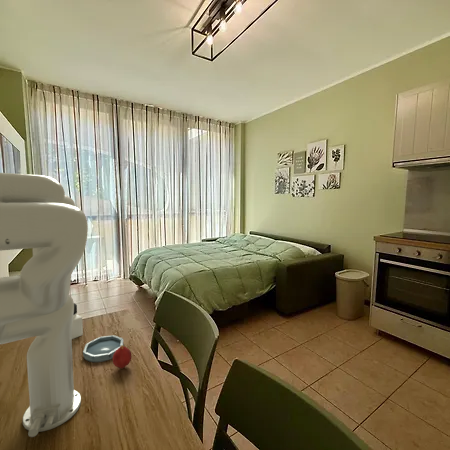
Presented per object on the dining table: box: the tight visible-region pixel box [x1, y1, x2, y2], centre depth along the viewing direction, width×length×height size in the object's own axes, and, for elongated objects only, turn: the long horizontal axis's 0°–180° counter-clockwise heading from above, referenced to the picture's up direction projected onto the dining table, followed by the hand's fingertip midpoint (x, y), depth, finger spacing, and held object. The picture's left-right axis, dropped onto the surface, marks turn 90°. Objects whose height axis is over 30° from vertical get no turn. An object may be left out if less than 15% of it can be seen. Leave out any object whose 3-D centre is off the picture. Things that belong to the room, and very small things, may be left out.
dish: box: [82, 334, 125, 363], centre depth 93 cm, size 13×13×2 cm
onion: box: [112, 345, 133, 369], centre depth 84 cm, size 6×6×8 cm
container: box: [72, 303, 84, 340], centre depth 102 cm, size 8×8×13 cm
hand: (44, 290), depth 85 cm, fingers open, 9 cm apart
